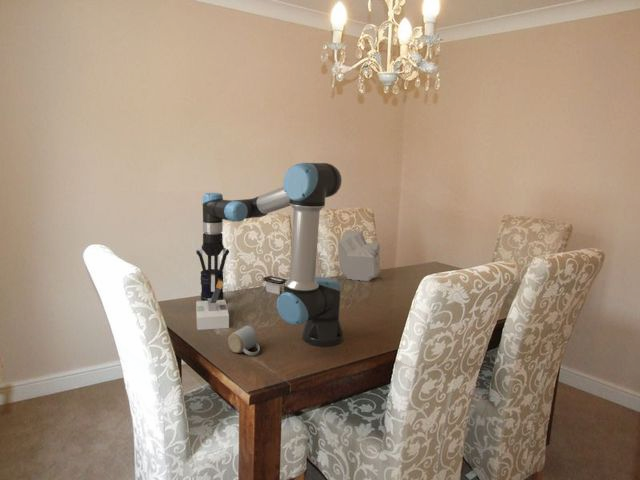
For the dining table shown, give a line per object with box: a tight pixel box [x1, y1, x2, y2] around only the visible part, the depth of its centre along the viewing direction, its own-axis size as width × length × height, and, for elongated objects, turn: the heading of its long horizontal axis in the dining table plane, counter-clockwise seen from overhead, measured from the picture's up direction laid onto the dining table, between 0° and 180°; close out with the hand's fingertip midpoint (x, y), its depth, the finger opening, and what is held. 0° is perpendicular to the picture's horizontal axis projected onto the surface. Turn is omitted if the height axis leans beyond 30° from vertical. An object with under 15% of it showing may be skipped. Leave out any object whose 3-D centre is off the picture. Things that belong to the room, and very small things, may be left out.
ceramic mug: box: [227, 325, 261, 357], centre depth 160 cm, size 11×8×8 cm
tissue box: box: [337, 230, 382, 282], centre depth 256 cm, size 20×16×25 cm
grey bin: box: [262, 275, 288, 296], centre depth 228 cm, size 20×25×10 cm
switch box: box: [195, 298, 230, 331], centre depth 188 cm, size 20×12×8 cm, turn 15°
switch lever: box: [210, 279, 225, 303], centre depth 187 cm, size 4×2×12 cm, turn 15°
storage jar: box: [200, 268, 224, 301], centre depth 206 cm, size 10×10×15 cm
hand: (212, 290), depth 186 cm, fingers closed
